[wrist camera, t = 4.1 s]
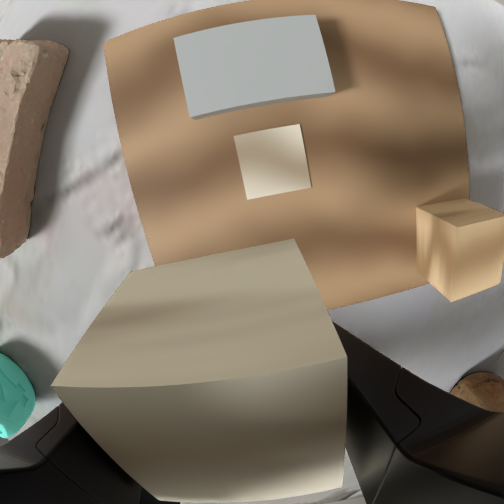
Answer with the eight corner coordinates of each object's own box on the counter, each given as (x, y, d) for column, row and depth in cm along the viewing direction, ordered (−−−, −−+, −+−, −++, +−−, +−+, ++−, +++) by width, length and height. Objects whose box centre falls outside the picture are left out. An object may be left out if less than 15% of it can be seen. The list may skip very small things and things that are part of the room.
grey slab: (326, 96, 16) (335, 92, 14) (195, 119, 16) (189, 117, 15) (308, 26, 14) (315, 14, 12) (180, 47, 15) (173, 37, 13)
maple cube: (463, 257, 20) (500, 283, 15) (416, 270, 20) (451, 302, 16) (465, 198, 18) (508, 215, 14) (415, 206, 19) (457, 227, 14)
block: (429, 412, 29) (486, 529, 11) (459, 369, 27) (538, 492, 8) (476, 403, 30) (531, 495, 12) (503, 364, 28) (572, 457, 9)
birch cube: (312, 367, 10) (341, 487, 6) (181, 386, 10) (159, 500, 6) (294, 238, 8) (347, 356, 4) (130, 271, 9) (51, 385, 4)
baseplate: (457, 266, 22) (466, 272, 21) (183, 327, 23) (181, 337, 22) (427, 11, 14) (435, 6, 13) (110, 46, 15) (102, 42, 14)
